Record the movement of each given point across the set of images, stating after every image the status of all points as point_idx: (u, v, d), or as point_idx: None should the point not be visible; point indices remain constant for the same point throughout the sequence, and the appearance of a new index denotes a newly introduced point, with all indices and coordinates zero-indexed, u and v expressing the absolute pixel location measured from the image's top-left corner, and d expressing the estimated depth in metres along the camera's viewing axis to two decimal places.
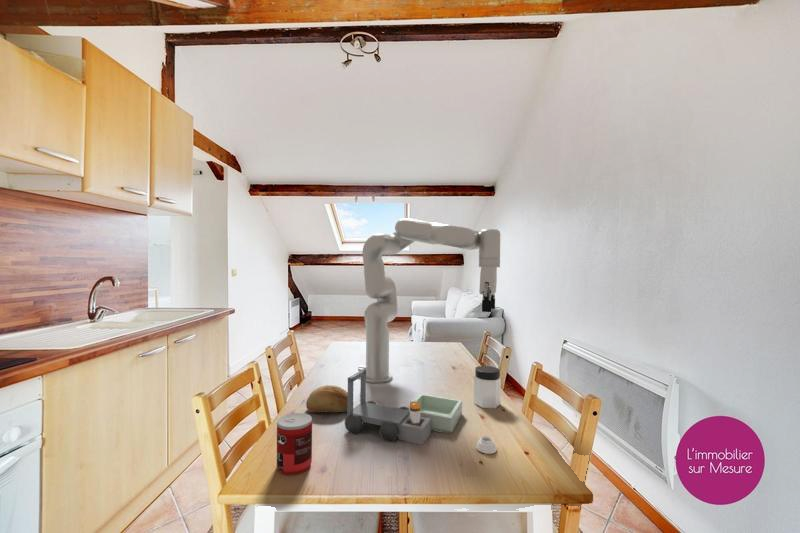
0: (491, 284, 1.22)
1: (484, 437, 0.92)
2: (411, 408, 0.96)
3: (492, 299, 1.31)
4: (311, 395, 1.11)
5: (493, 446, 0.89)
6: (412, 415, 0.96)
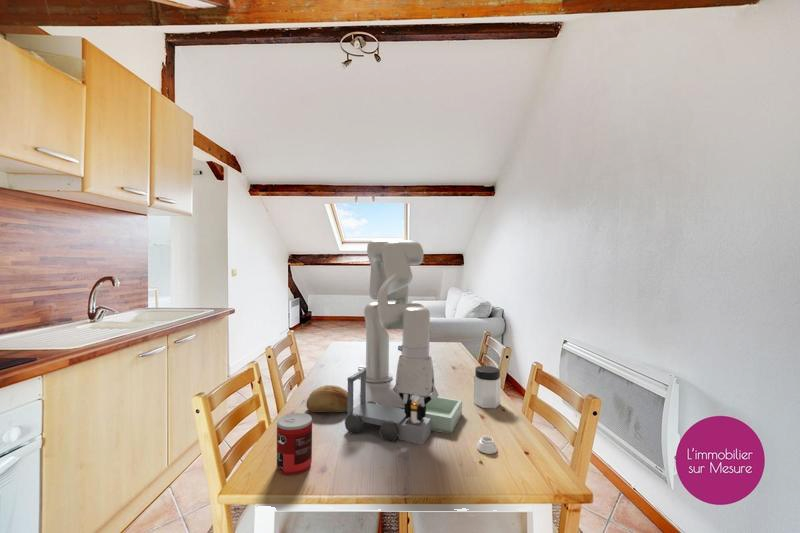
0: None
1: (485, 437, 0.92)
2: (411, 408, 0.96)
3: None
4: (311, 395, 1.11)
5: (494, 446, 0.89)
6: (412, 414, 0.96)
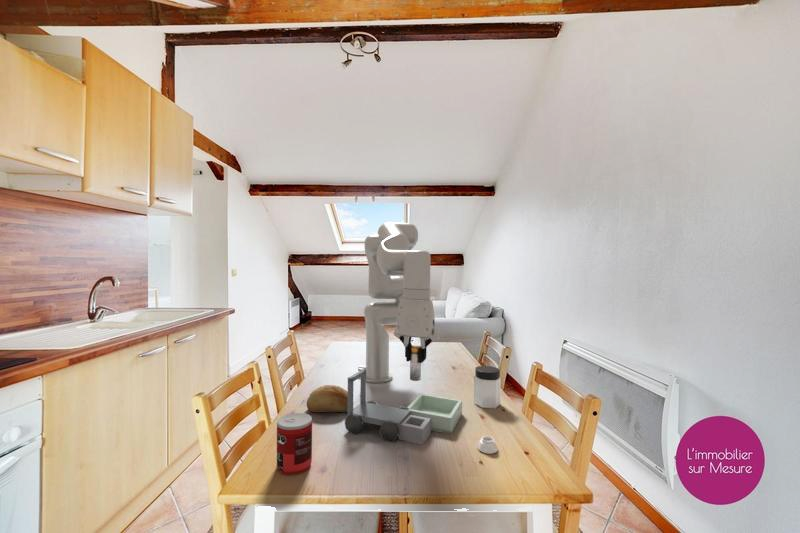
0: (434, 322, 0.96)
1: (486, 437, 0.92)
2: (412, 351, 0.96)
3: None
4: (311, 395, 1.11)
5: (494, 446, 0.89)
6: (412, 357, 0.96)
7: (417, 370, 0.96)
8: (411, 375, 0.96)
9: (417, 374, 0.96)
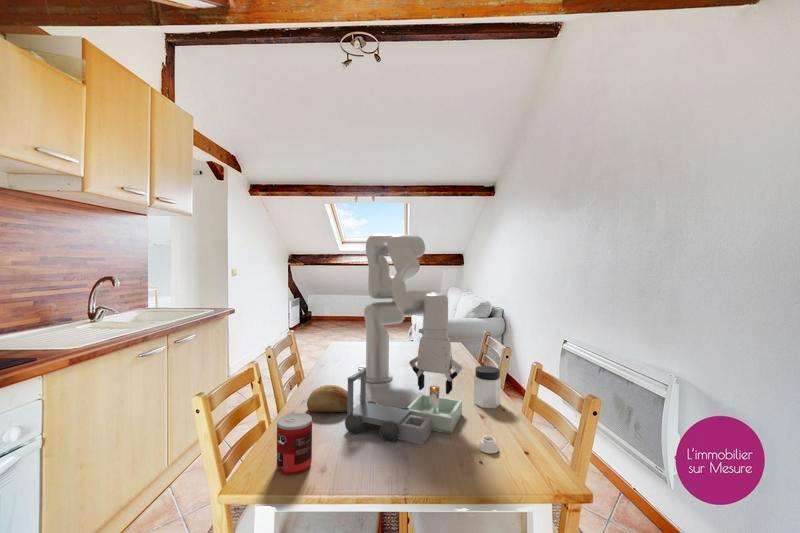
0: (451, 358, 1.07)
1: (486, 437, 0.92)
2: (431, 391, 1.07)
3: (423, 376, 1.10)
4: (311, 395, 1.11)
5: (495, 446, 0.89)
6: (432, 397, 1.06)
7: (436, 409, 1.06)
8: None
9: (436, 413, 1.06)
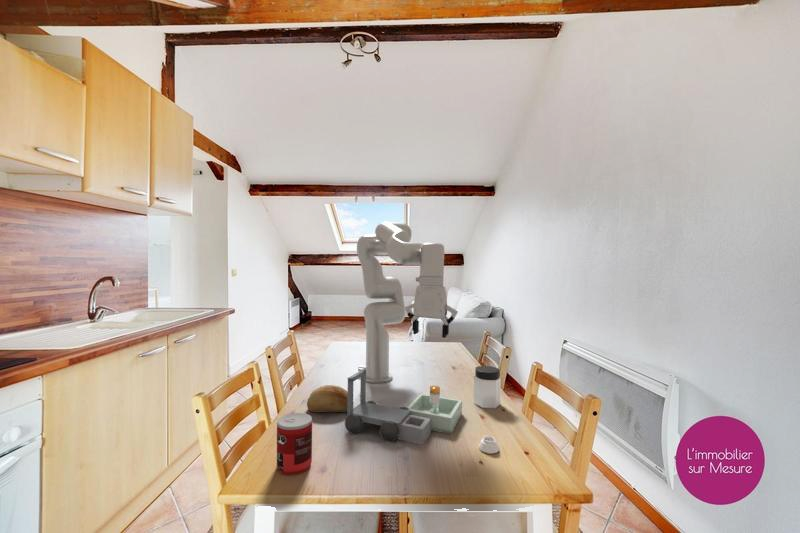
0: None
1: (487, 437, 0.92)
2: (431, 391, 1.06)
3: (417, 322, 1.14)
4: (312, 395, 1.11)
5: (496, 446, 0.89)
6: (432, 397, 1.06)
7: (436, 409, 1.06)
8: None
9: (436, 413, 1.06)
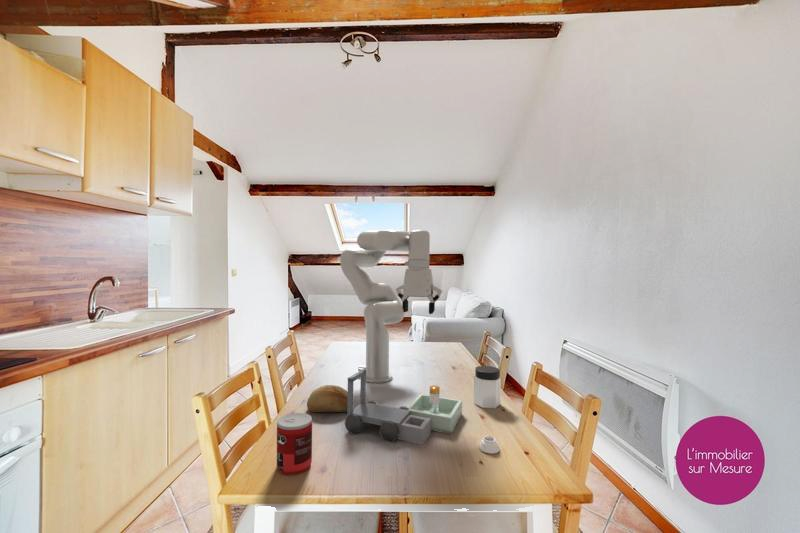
0: None
1: (487, 437, 0.92)
2: (431, 391, 1.07)
3: (407, 301, 1.28)
4: (312, 395, 1.11)
5: (496, 446, 0.89)
6: (432, 397, 1.06)
7: (436, 409, 1.06)
8: None
9: (436, 413, 1.06)
